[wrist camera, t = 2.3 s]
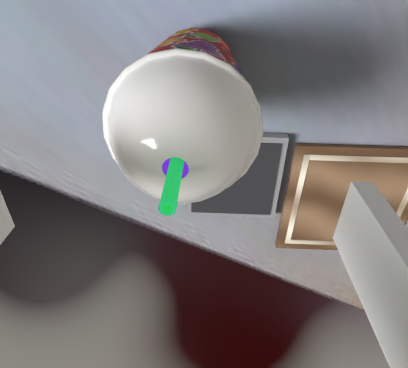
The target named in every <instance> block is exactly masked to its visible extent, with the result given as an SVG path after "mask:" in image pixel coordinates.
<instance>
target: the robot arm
mask: <svg viewBox="0 0 408 368" xmlns="http://www.w3.org/2000/svg"><path fill="white" fill-rule="evenodd" d="M14 227H15V226H14V223H13V221H12V218H11V216H10V213H9V211H8V209H7V206H6V204H5V201H4V199H3V196H2V194H1V191H0V244H1V243H2V242H3V240H4V239H5V238H6V237H7V235H8V234H9V233H10V232H11V230H12V229H13V228H14ZM333 240H334V242H335V244H336V247H337V249H338V251H339V253H340V256H341V258H342V260H343V262H344V265H345V267H346V269H347V271H348V274H349V276H350V278H351V280H352V283H353V285H354V287H355V290H356V292H357V294H358V296H359V299H360V301H361V303H362V305H363V308H364V310H365V312H366V314H367V317H368V319H369V321H370V323H371V325H372V328H373V330H374V332H375V335H376V337H377V339H378V341H379V344H380V346H381V348H382V351H383V353H384V355H385V357H386V359H387V362H388V364H389V366H390V368H408V228H407V227H406V225H405V224H404V223H403V222H402V220H401V219H400V218H399V216H398V215H397V214H396V212H395V211H394V210H393V208H392V207H391V206H390V204H389V203H388V202H387V200H386V199H385V198H384V196H383V195H382V194H381V192H380V191H379V190H378V188H377V187H376V186H375V184H374V183H373V182H358V181H351V184H350V187H349V190H348V193H347V196H346V199H345V202H344V205H343V208H342V211H341V214H340V217H339V220H338V223H337V226H336V229H335V232H334V236H333Z"/></svg>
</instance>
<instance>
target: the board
mask: <svg viewBox="0 0 408 368" xmlns="http://www.w3.org/2000/svg"><path fill="white" fill-rule="evenodd" d="M351 181H358V182H373V183H374V184H375V186H376V187H377V188H378V190H379V191H380V192H381V194H382V195H383V196H384V198H385V199H386V200H387V202H388V203H389V204H390V206H391V207H392V208H393V210H394V211H395V212H396V214H397V215H398V216H399V218H400V219H401V220H402V222H403V223H404V224H405V222H406V220H407V218H408V147H406V146H374V145H341V144H308V143H296V144H295V149H294V154H293V159H292V164H291V169H290V174H289V179H288V184H287V189H286V194H285V199H284V204H283V209H282V214H281V219H280V224H279V229H278V234H277V239H276V244H275V245H276V248H295V249H323V250H338V249H337V247H336V244H335V242H334V240H333V236H334V232H335V229H336V226H337V223H338V220H339V217H340V214H341V211H342V208H343V205H344V202H345V199H346V196H347V193H348V190H349V187H350V184H351Z"/></svg>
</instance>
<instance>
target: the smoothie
mask: <svg viewBox="0 0 408 368" xmlns="http://www.w3.org/2000/svg"><path fill="white" fill-rule="evenodd" d="M102 116H103V134H104V138H105V140H106V143H107V145H108V147H109V150H110V152H111V155H112V157H113V158H114V160H115V161H116V162H117V164H118V166H119V168H120V169H121V170H122V172H123V173H124V174H125V175H126V177H127V178H128V179H129V180H130V182H131V183H132V184H134V185H135V186H136V187H138V188H139V189H141V190H142V191H143V192H145V193H146V194H148V195H149V196H152V197H155V198H157V199H160V204H159V208H158V209H159V211H160V213H161V214H163V215H165V216H171V215H172V214H174V213H175V211H176V207H177V203H182V204H184V203H192V202H199V201H203V200H205V199H208V198H210V197H212V196H215V195H217V194H219V193H221V192H223V191H224V190H225V189H226V188H228V187H230V186H231V185H232V184H233V183H235V182H236V181H237V180H238V179H240V178H241V177H242V176H243V175H244V174H246V172H247V171H248V169H249V168H250V166H251V165H252V163H253V161H254V160H255V158H256V157H257V155H258V152H259V148H260V144H261V140H262V136H263V122H262V113H261V107H260V105H259V103H258V101H257V99H256V96H255V94H254V92H253V90H252V88H251V86H250V84H249V83H248V82H247V81H246V80H245V78H244V76H243V74H242V72H241V70H240V68H239V66H238V65H237V63H236V61H235V59H234V57H233V55H232V53H231V51H230V49H229V47H228V45H227V44H226V43H225V42H224V41H223V40H222V39H221V38H220V37H219V36H218V35H216V34H214V33H212V32H210V31H208V30H206V29H198V28H189V29H185V30H181V31H178V32H176V33H175V34H174V35H172V36H171V37H169V38H168V39H166V40H165V41H164V42H162V43H161V44H160V45H158V46H157V47H156V48H154V49H153V50H152V51H150V52H149V53H148V54H146V55H145V56H143V57H142V58H140V59H139V60H137V61H135V62H134V63H132V64H131V65H129V66H127V67H126V68H125V69H124V70H123V71H122V72H121V74H120V75H119V76H118V78H117V79H116V80H115V81H114V83H113V84H112V85H111V87H110V88H109V91H108V94H107V97H106V101H105V104H104V108H103V111H102Z"/></svg>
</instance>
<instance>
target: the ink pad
mask: <svg viewBox="0 0 408 368" xmlns="http://www.w3.org/2000/svg"><path fill="white" fill-rule="evenodd" d="M288 142H289V137H288V134H283V133H263V136H262V140H261V144H260V148H259V152H258V155H257V157H256V158H255V160H254V161H253V163H252V165H251V166H250V168H249V169H248V171H247V172H246V174H244V175H243V176H242V177H241V178H240V179H238V180H237V181H236V182H235V183H233V184H232V185H231V186H230V187H228V188H226V189H225V190H224V191H223V192H221V193H219V194H217V195H215V196H212V197H210V198H208V199H205V200H203V201H199V202H192V203H186V215H190V216H219V217H248V218H274V217H275V212H276V207H277V201H278V196H279V190H280V185H281V180H282V174H283V169H284V163H285V158H286V152H287V147H288Z"/></svg>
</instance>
